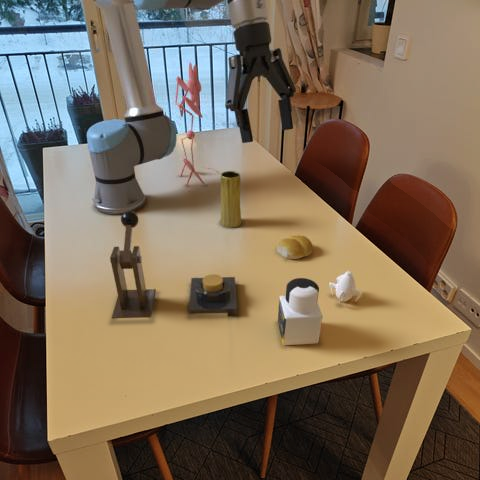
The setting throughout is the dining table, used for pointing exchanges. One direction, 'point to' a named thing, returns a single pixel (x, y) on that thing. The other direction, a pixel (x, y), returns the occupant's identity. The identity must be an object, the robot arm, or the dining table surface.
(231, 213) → the vase
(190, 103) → the figurine
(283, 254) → the bread roll
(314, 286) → the medicine bottle
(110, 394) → the dining table surface
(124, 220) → the flush lever
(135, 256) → the lever bracket
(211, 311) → the button base
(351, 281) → the rocket toy
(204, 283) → the tan short cylinder
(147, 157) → the robot arm
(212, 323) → the dining table surface
